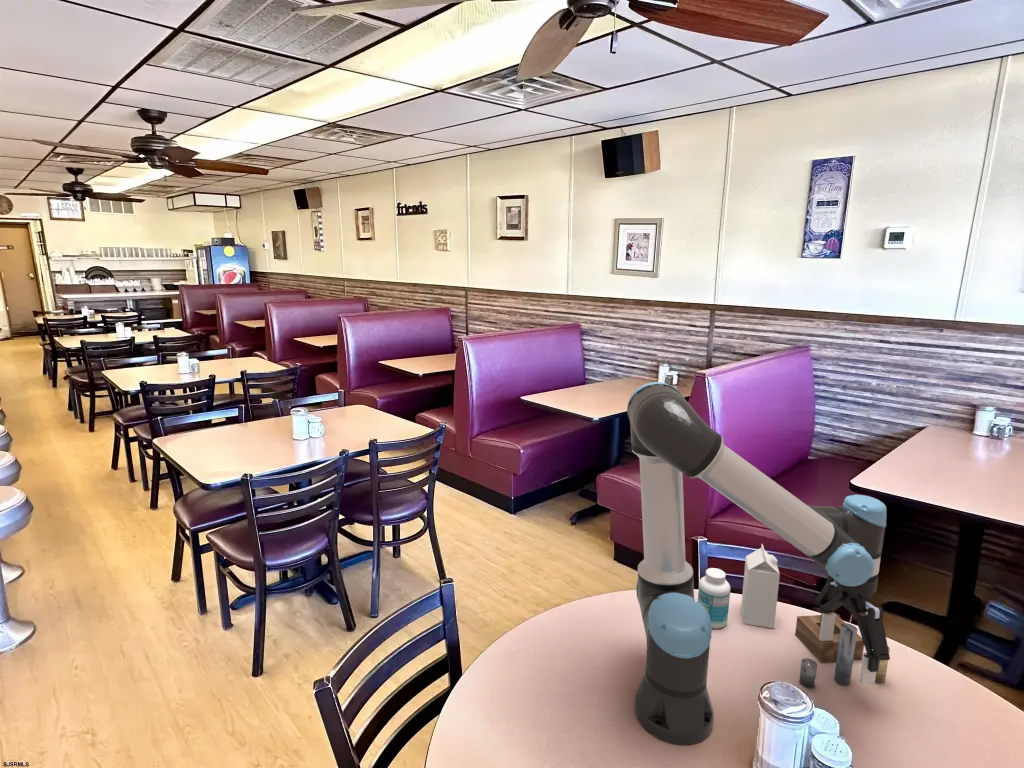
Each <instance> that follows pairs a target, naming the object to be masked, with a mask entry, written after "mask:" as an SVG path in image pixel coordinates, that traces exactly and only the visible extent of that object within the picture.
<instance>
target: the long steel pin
mask: <svg viewBox="0 0 1024 768" xmlns="http://www.w3.org/2000/svg"><path fill="white" fill-rule="evenodd" d="M857 634H858V628H857V627H856V626H855V625H853V624H851V623H846V622H845V623H843V624H841V630H840V637H839V645H838V652H837V660H836V662H835V667H834V668H835V669H834V675H833V680H834V682H835V683H836V684H838V685H840V686H842V687H848V686H850V685H851V678H852V671H853V665H854V664H853V663H854V661H853V658H854V651H855V644H856V636H857Z"/></svg>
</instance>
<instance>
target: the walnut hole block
mask: <svg viewBox="0 0 1024 768" xmlns="http://www.w3.org/2000/svg"><path fill="white" fill-rule="evenodd" d="M835 614H836V616H835V624H834V632H833V640H830V641H821V640H820V639H819V636H820V628H821V621H820V620H821V614H820V615H819V614H818V615H817V614H816V615H815V614H813V615H802V616H801V615H797V616H796V622H795V623H796V624H795V632H794V633H795V634H794V635H795V636H796V637H797V638H798V639H799V640H800V641H801V643H802V644H803V645H804V646H805V647H806V648H807V650H808V651H810V653H811V655H813V656H814V657H815V658H816V659H817V660H818V662H820V663H833V662H835V663H836V660H837V652H838V645H839V637H840V630H841V624H843V623H846V622H845V621H844V620H843V619H842V618H841V617H840V616H839V615H838V614H837V613H835ZM864 648H865V646H864V642H863V639H862V636H861V635H859V633H857V636H856V644H855V651H854V658H853V662H854V661H862V660H863V653H864Z"/></svg>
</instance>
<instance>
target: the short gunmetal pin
mask: <svg viewBox="0 0 1024 768" xmlns="http://www.w3.org/2000/svg"><path fill="white" fill-rule="evenodd" d="M800 662H801V663H800V670H799V679H798V683H799V685H801V686H802V687H804V688H806V689H814V688H815V686H816V679H817V671H818V670H817V669H818V663H817V662H816V661H815V660H813V659H810V658H807V657H805V658H802V659H801V660H800Z"/></svg>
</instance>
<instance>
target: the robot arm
mask: <svg viewBox="0 0 1024 768" xmlns="http://www.w3.org/2000/svg"><path fill="white" fill-rule="evenodd" d="M626 409H627V410H626V412H627V417H628V420H629V423H630V425H629V426H630V443H631V451H632V453H633V454H634V455H636V456H637V457H638V458H639V477H640V497H641V499H640V501H641V518H642V539H643V557H644V558H643V559H642V560H641V561H640V562H639V564H638V565H637V581H636V586H635V587H636V588H635V591H636V598H637V601H638V605H639V609H640V613H641V617H642V618H641V619H642V623H643V626H644V633H645V639H646V654H645V655H646V656H645V658H646V659H645V673H644V675H643V677H642V679H641V681H640V683H639V686H638V688H637V690H636V692H635V695H634V712H635V717H636V718H637V720H638V722H639V724H640V725H641V726H642V728H644V729H645V730H646V731H647V732H648V733H650V734H651V735H653V736H654V737H655V738H657V739H659V740H661V741H663V742H667V743H670V744H675V745H685V746H686V745H693V744H696V743H699V742H702V741H704V740H705V739H707V738H708V736H709V735H710V734H711V733H712V730H713V726H714V709H713V705H712V702H711V698H710V694H709V690H708V687H707V682H708V681H707V680H708V670H709V661H710V660H709V658H710V645H711V640H712V636H713V635H712V628H711V620H710V616H709V614H708V612H707V610H706V609H705V607H704V606H703V605H702V604H701V603H700V602H698V601H696V600H695V594H694V593H695V591H694V589H695V588H694V586H695V585H694V584H695V583H694V569H693V567H692V565H691V564H690V563H688V562H687V560H686V544H685V543H686V541H685V514H684V513H685V508H684V507H685V506H684V505H685V504H684V480H683V478H684V477H683V475H685V476H687V478H689V479H696V478H698V479H700V480H701V481H703V482H704V483H706V484H707V485H709V486H710V487H711V488H712V489H714V490H715V491H717V492H718V493H720V494H721V495H722V496H723V497H725V498H726V499H728V500H729V501H730V502H732V503H733V504H735V505H737V506H738V507H739V508H740V509H742V510H743V511H744V512H746V513H748V514H749V515H750V516H752V517H753V518H754V519H756V521H759V522H760V523H762V524H763V525H764V526H765V527H767V528H768V529H769V530H772V532H773V533H775V534H776V535H778V536H780V538H782V539H784V541H786V542H788V543H789V544H791V545H792V546H794V547H795V548H796V549H798V550H799V551H801V552H802V553H803V554H805V556H807V557H808V558H809V559H811V560H812V561H813V562H815V563H816V564H817V565H819V566H821V568H823V569H824V570H825V571H826V573H827V574H828V575H827V578H826V583H825V584H824V586H823V588H822V589H821V590H820V592H819V594H818V595H817V596H816V598H815V604H816V605H818V606H819V611H820V612H821V613H820V615H821V620H820V621H821V628H820V636H819V639H820V640H821V641H830V640H833V632H834V624H835V616H836V614H837V613H835V612H836V611H837V609H839V608H840V607H842V606H843V608H845V609H847V610H848V611H849V612H850V614H851V615H852V618H853V620H854V621H855V622H856V623H857V626H858V629H859V633H860V637H861V638H862V639H863V642H864V648H865V652H863V656H862V660H861V668H860V676H859V682H860V683H861V684H865V685H866V684H874V683H875V677H876V672H877V671H878V669H879V662H880V661H883V660H888V661H890V660H891V658H890V651H888V647H889V646H888V640H887V636H886V630H885V624H884V609H883V608H882V607H879V606H877V607H876V606H875V605H873V602H872V599H871V598H872V597H873V595H874V594H875V593H876V592H877V590H878V589H877V587H878V581H879V575H878V574H879V572H880V564H881V557H882V551H883V544H884V537H885V532H886V527H887V506H886V504H885V503H884V502H882V501H881V500H880V499H877V498H875V497H874V496H873V497H872V496H869V495H863V494H851V495H847V496H845V498H844V501H843V503H842V506H824V505H822V506H821V505H807V504H806V503H805V502H803V501H802V500H800V498H798V497H797V496H795V495H794V494H792V493H791V492H789V491H788V490H787V489H785V488H784V487H783V486H781V485H780V484H778V482H776V481H775V480H773V479H772V478H770V476H767V475H766V474H765V473H764V472H762V471H761V470H759V469H758V468H757V467H756V466H754V465H752V464H751V463H750V462H748V461H747V460H746V459H744V458H743V457H742V456H740V455H739V454H738V453H736V452H735V451H733V450H732V449H731V448H729V447H728V446H726V445H725V444H724V437H723V435H721V434H719V433H718V432H717V431H715V430H714V429H713V428H712V427H710V425H709V424H707V423H706V422H705V420H704V419H702V417H701V416H700V415H699V414H698V413H697V412H696V410H695V409H694V408H693V407H692V405H691V404H690V403H689V401H687V400H686V398H684V396H683V394H682V393H681V391H680V390H679V389H677V388H676V387H675V386H673V385H670V384H668V383H666V382H662V381H661V382H660V381H653V382H647V383H644V384H642V385H640V386H638V388H636V389H635V390H634V392H632V394H631V395H630V396H629V400H628V402H627V408H626ZM837 591H838V592H837ZM862 614H865V615H862ZM872 649H873V651H872ZM875 684H876V683H875Z"/></svg>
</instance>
